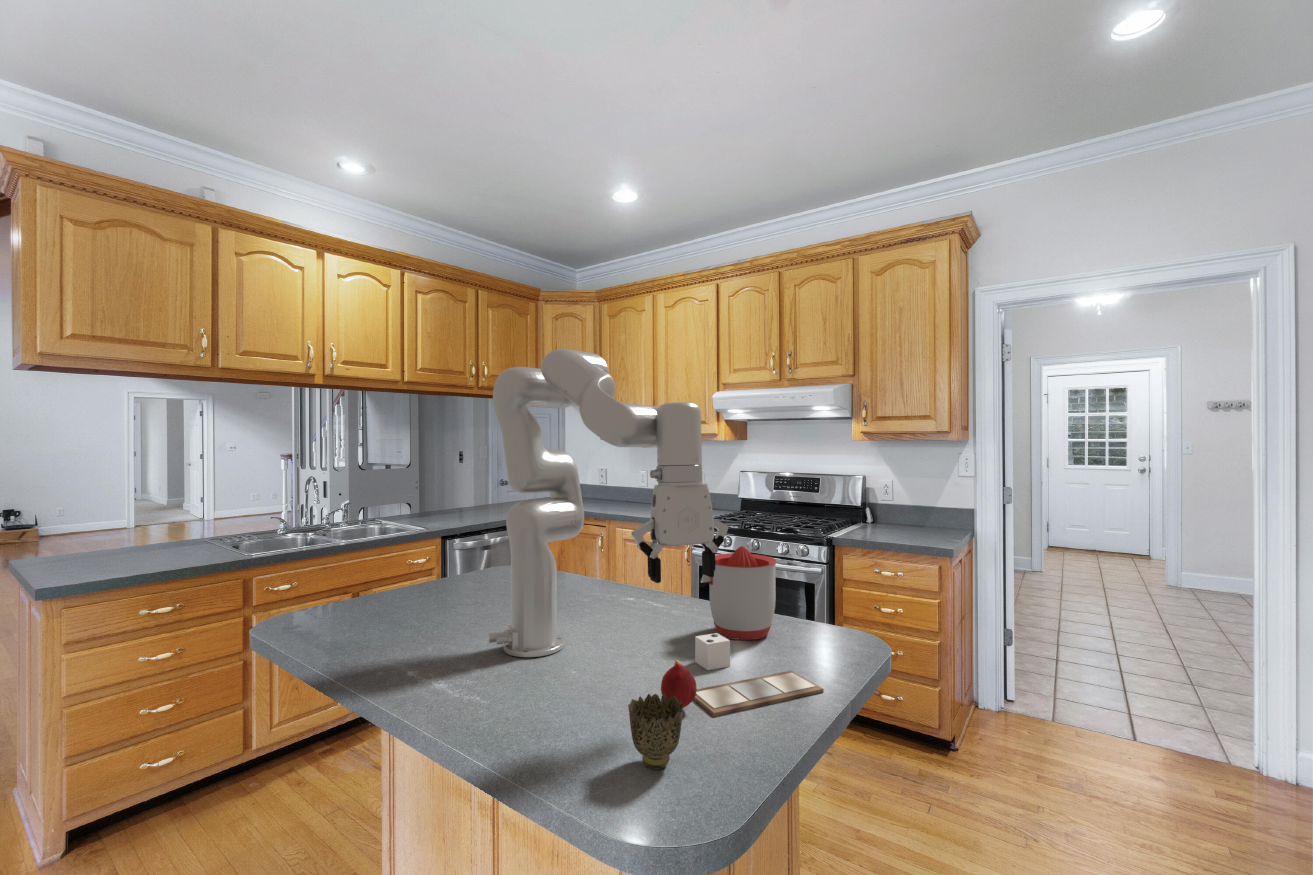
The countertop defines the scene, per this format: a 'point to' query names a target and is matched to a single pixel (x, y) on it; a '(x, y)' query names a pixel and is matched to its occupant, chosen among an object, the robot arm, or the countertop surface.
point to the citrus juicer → (742, 594)
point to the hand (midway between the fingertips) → (682, 578)
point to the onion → (679, 684)
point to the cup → (655, 728)
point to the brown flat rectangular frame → (754, 692)
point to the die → (712, 651)
